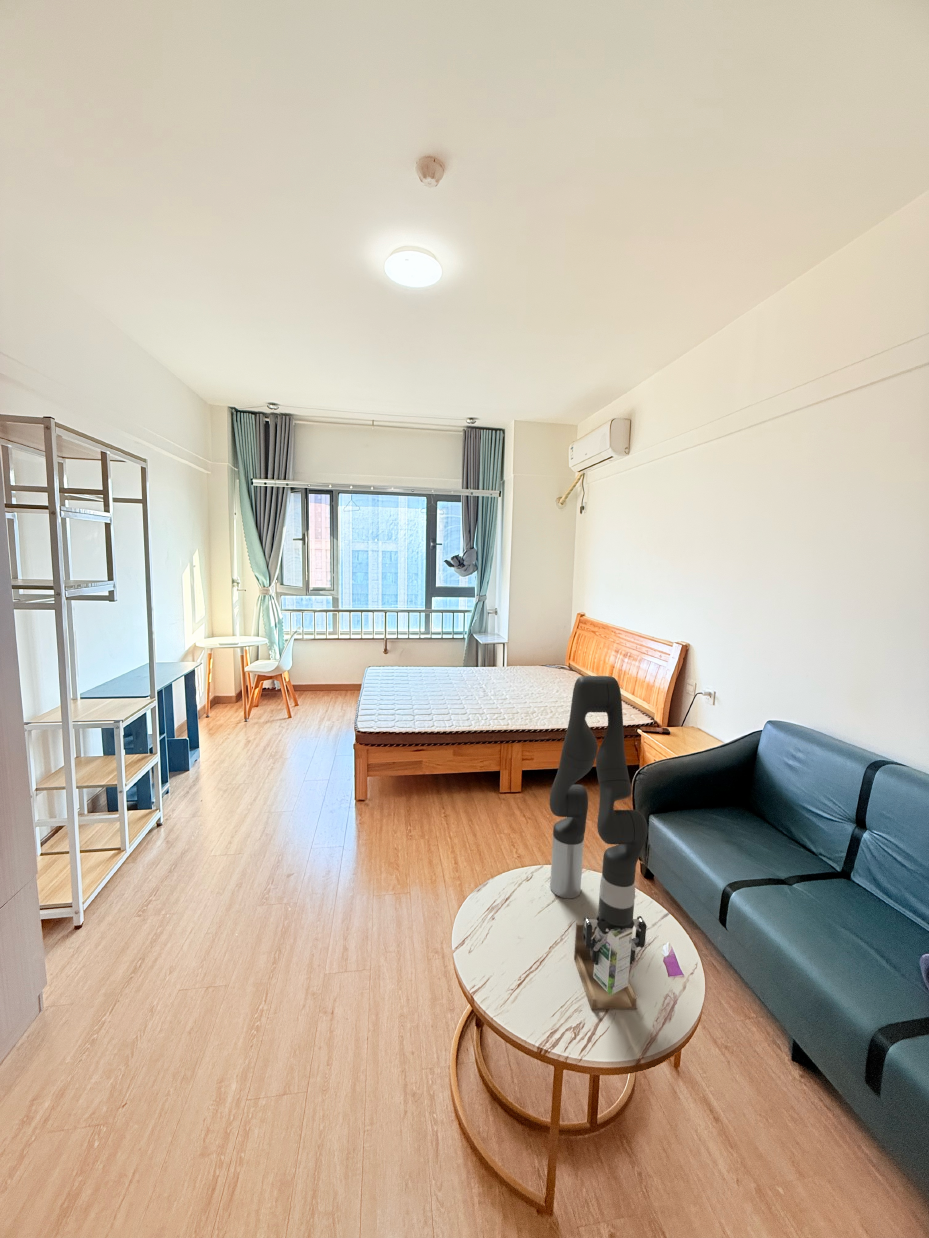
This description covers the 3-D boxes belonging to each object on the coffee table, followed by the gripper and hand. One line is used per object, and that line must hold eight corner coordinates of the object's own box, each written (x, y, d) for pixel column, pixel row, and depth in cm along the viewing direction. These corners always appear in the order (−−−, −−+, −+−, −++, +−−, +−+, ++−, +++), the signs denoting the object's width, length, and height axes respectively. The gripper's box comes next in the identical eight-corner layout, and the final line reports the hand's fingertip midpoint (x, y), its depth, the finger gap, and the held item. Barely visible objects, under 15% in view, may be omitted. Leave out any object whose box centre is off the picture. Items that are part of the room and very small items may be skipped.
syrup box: (592, 977, 113) (596, 920, 111) (610, 967, 116) (614, 911, 114) (610, 996, 108) (614, 937, 107) (629, 986, 111) (633, 927, 109)
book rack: (573, 958, 123) (576, 922, 122) (614, 958, 124) (616, 921, 123) (591, 1009, 109) (594, 968, 108) (636, 1008, 110) (639, 967, 109)
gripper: (641, 884, 114) (635, 948, 116) (580, 884, 113) (576, 949, 115) (655, 906, 106) (649, 975, 108) (590, 907, 106) (586, 976, 107)
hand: (611, 961), depth 112 cm, fingers closed on syrup box, 7 cm apart
